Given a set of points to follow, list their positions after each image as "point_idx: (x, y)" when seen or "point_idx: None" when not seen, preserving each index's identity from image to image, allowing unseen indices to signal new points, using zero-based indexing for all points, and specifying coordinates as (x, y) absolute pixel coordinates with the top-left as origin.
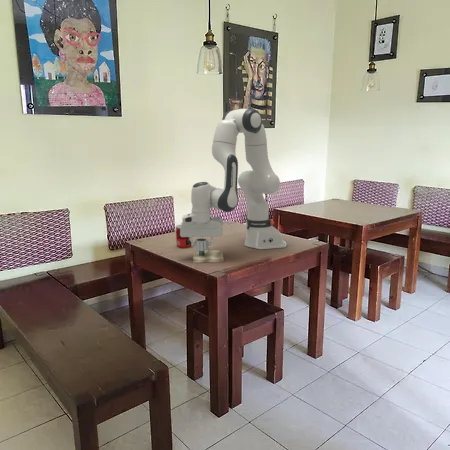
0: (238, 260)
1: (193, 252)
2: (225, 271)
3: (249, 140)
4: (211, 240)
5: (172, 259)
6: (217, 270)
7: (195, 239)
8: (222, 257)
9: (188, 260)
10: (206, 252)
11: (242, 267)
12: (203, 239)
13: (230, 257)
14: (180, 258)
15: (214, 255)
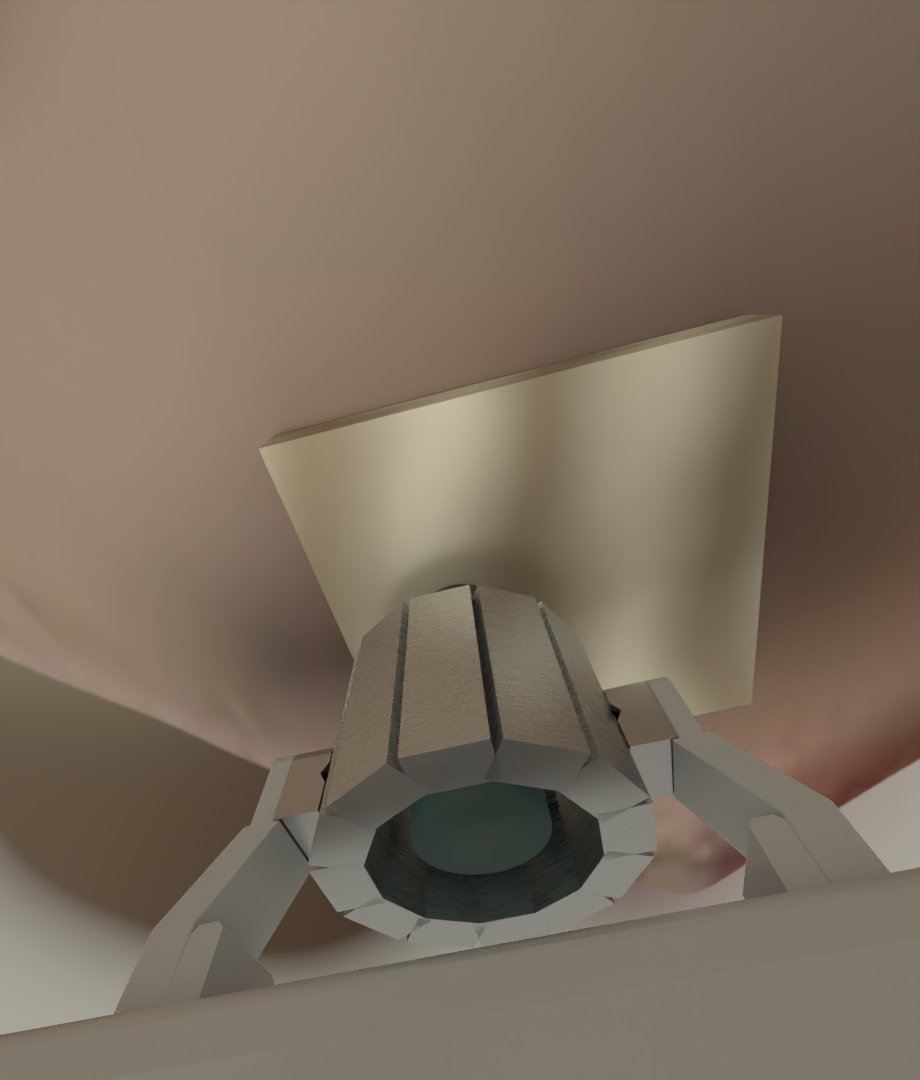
0: (913, 603)
1: (299, 534)
2: (720, 850)
3: None
4: (730, 832)
5: (125, 699)
6: (658, 846)
7: (324, 865)
8: (745, 664)
9: (328, 696)
10: (511, 500)
11: (884, 766)
12: (514, 766)
13: (844, 511)
14: (198, 654)
15: (644, 612)
